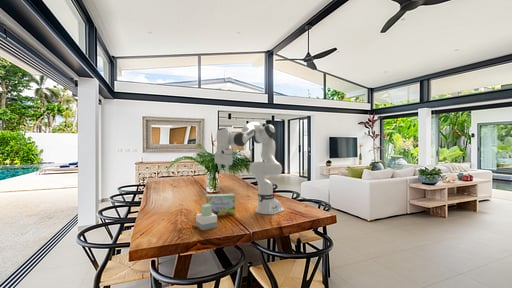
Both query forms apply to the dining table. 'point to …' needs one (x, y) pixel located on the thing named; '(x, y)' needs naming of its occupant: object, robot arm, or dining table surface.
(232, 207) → the snack box
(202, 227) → the grey slab
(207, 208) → the sage block
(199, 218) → the cream slab
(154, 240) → the dining table surface
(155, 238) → the dining table surface
